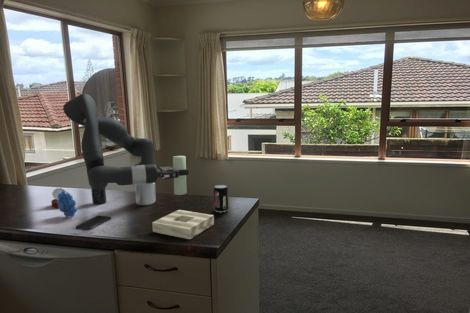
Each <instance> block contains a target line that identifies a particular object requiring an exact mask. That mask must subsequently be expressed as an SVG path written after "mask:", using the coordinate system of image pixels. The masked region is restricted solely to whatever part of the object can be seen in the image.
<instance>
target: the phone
mask: <svg viewBox="0 0 470 313" xmlns="http://www.w3.org/2000/svg"><path fill="white" fill-rule="evenodd" d="M110 220H112V216H107V215H96V216H94V217H91V218H90V219H88V220H85V221H83V222H81V223H79V224H77V225H75V229H77V230H85V231H87V230H88V231H91V230H93V229H95V228H97V227H99V226H101V225H103V224H105V223H107V222H108V221H110ZM104 222H105V223H104Z"/></svg>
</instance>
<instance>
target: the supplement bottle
mask: <svg viewBox="0 0 470 313" xmlns="http://www.w3.org/2000/svg"><path fill="white" fill-rule="evenodd" d="M90 189H91V201H92V205H103V204H105V203H106V202H107V190H106V187H105V188H104V189H103V190H95V189H93V188H92V187H91V186H90Z"/></svg>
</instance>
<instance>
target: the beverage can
mask: <svg viewBox="0 0 470 313" xmlns="http://www.w3.org/2000/svg"><path fill="white" fill-rule="evenodd" d="M213 209H214V210H213V211H215V212H216V213H218V212H219V214H222V212H224V213H227V212H228V210H229V188H228V186H227V185H225V184H216V185H214V188H213ZM226 211H227V212H226Z"/></svg>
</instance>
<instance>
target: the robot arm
mask: <svg viewBox="0 0 470 313" xmlns="http://www.w3.org/2000/svg"><path fill="white" fill-rule="evenodd" d="M62 107H63V108H62V110H63V113H64V114H65V117H66V116H67V118H68V119H70V120H71V121H72V122H74V123H76V124H78V125H80V126H82V127H84V131H83V133H82V138H81V143H80V144H81V153H82V157H83V160H84V164H85V167H86V174H87V180H88V184H89V186H90V188H91V187H92V188H93V189H95V190H103V189H104V188H105V189H106V187H107V186H108V184H117V185H118V186H130V185H131V186H132V185H134V186H135V203H136V205H137V206H138V205H139V206H149V205H152V204H154V203H155V202H156V201H157V196H156V183H157V181H158V179H159V178H161V179H164V180H165V181H166V180H171V179H174V178H178V177H179V176H183V175H186V176H189V169H188V168H186V169H185V170H173V165H171V166H158V167H157V165H156V164H154V163H155V153H154V152H155V150H154V149H155V147H154V143H153V140H151V139H150V138H138V137H135V136H132V135H131V134H129V133H128V129H127V128H126V126H125V125H124V124H123V123H121V122H120V121H118V120H117V119H115V118H112V117H109V116H98V108H97V104H96V101H95V100H94V99H93V97H92V96H91V95H90V94H88V93H81V94H79V95H77V96H75V97H73V98H71V99H70V100H68V101H67V102H65V104H63V106H62ZM100 135H101V136H102V137H104V138H105V139H107V140H109V141H110V142H113V143H114V144H115V145H118V146H119V147H121V148H123V149H124V150H125V151H127V152H128V153H129V154H131V156H134V157H139V158H141V159H140V162H138V163H135V164H134V165H131V166H123V167H122V166H121V167H118V166H111V165H105V160H104V153H103V149H102V145H101V141H100ZM174 173H175V175H174Z"/></svg>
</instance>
